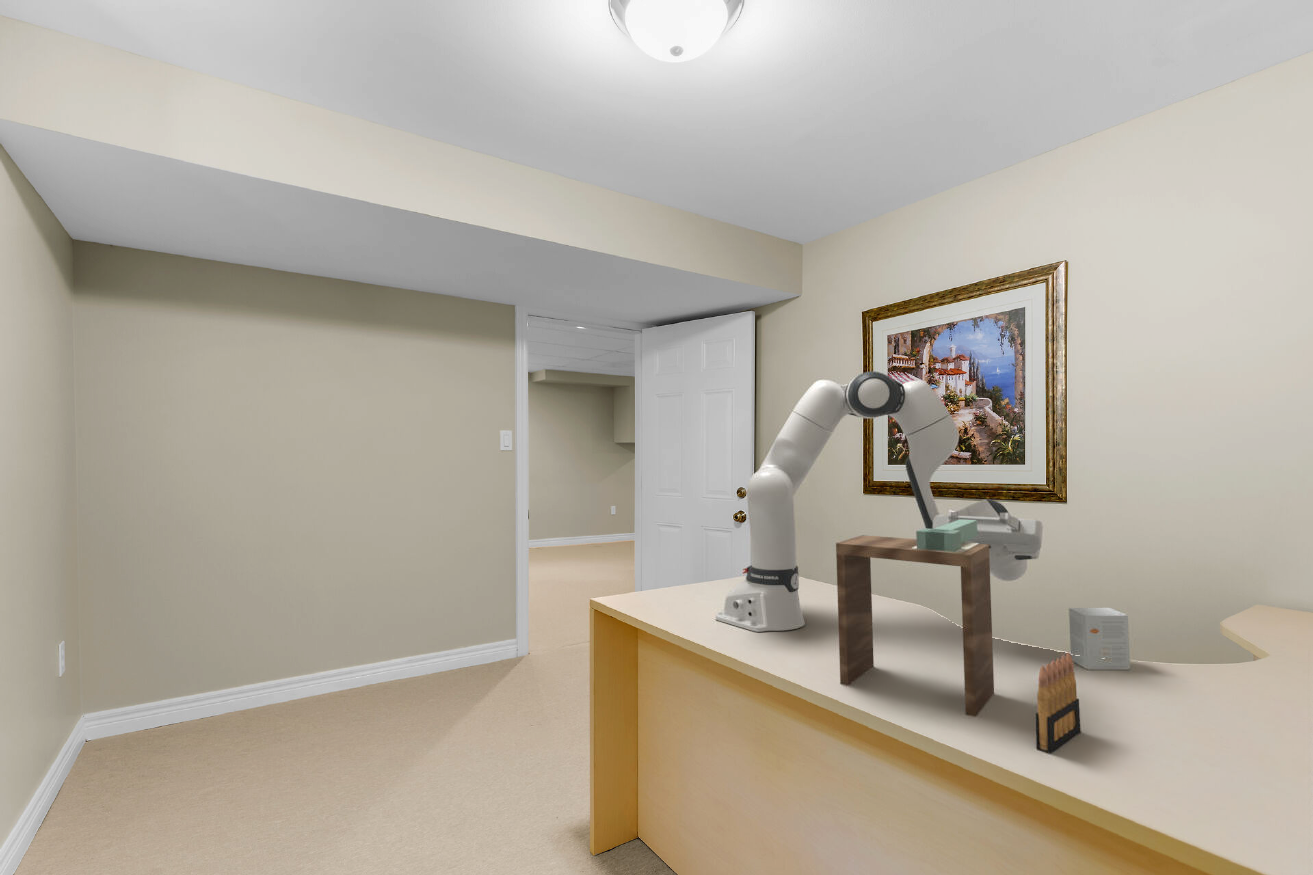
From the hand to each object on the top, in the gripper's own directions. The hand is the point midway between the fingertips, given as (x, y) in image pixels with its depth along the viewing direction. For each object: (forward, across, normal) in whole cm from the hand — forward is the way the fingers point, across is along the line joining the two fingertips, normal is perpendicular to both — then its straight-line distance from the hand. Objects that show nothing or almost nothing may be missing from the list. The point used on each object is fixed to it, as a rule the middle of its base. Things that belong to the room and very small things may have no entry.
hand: (977, 514), depth 124 cm
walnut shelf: (+4, -6, +36) cm, 37 cm away
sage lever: (+13, 0, +11) cm, 17 cm away
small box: (-25, +18, +20) cm, 37 cm away
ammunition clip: (+9, +17, +40) cm, 44 cm away
